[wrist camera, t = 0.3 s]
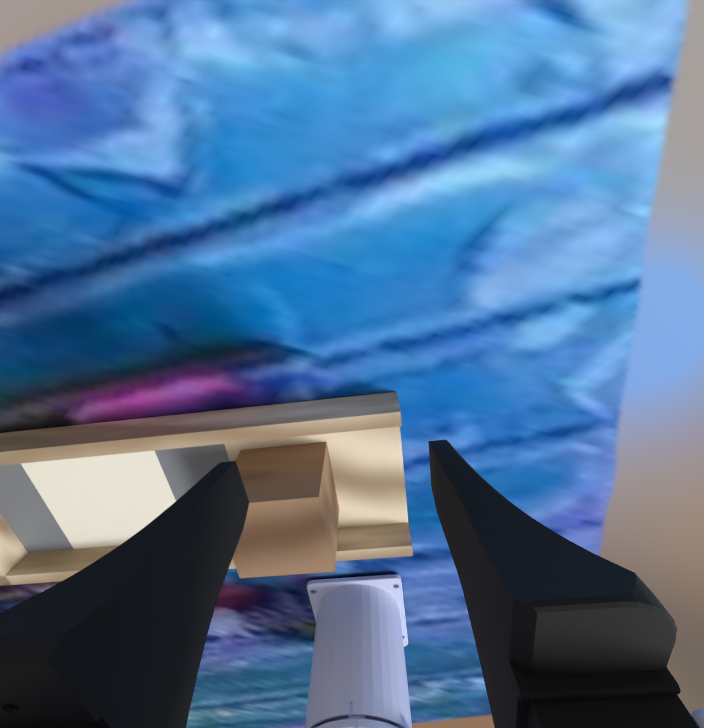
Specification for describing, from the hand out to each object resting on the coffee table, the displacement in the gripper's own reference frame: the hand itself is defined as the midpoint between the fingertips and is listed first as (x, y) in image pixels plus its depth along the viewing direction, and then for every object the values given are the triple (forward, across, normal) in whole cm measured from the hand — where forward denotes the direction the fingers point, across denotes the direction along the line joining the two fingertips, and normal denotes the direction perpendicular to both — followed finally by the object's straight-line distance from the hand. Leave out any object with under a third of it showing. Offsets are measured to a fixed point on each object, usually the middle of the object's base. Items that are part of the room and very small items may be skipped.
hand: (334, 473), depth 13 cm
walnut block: (+9, +5, +8) cm, 13 cm away
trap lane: (+10, +13, +8) cm, 18 cm away
